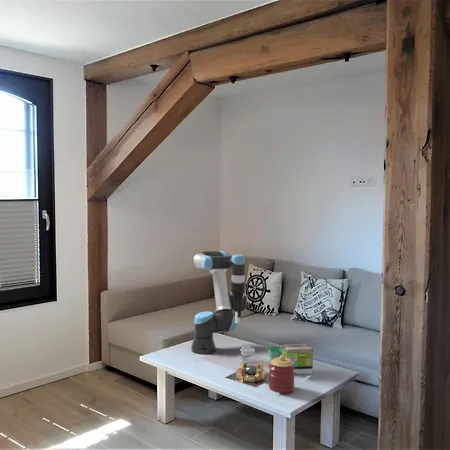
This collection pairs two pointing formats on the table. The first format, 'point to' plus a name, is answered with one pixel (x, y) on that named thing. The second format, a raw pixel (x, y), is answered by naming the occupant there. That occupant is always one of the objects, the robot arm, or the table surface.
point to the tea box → (299, 357)
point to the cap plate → (255, 384)
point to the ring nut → (251, 378)
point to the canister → (281, 375)
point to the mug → (275, 352)
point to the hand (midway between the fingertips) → (237, 322)
